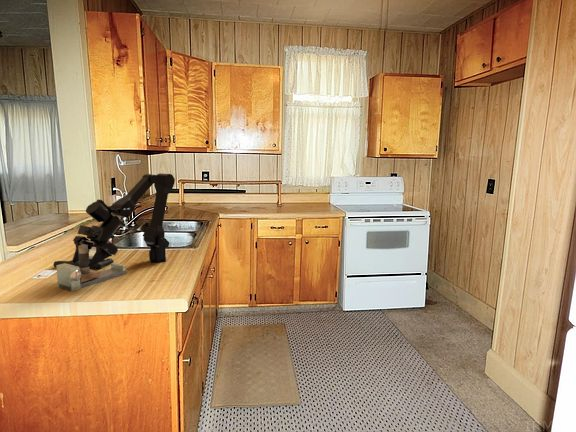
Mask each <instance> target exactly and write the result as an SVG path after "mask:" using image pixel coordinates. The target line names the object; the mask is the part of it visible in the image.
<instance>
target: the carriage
mask: <svg viewBox="0 0 576 432" xmlns="http://www.w3.org/2000/svg"><path fill="white" fill-rule="evenodd" d="M78 249H79V253H78V256H79V267H80V269H79V271H80V272H81V278H80V282H85V281H88V280H91V279H94V278H98V277H100V273H99V272H100V271H99V270H96V269H90V267H89V266H88V264H89V262H90V261H89V256H90V251H89V252H88V245H79V246H78Z"/></svg>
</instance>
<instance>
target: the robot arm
mask: <svg viewBox="0 0 576 432" xmlns="http://www.w3.org/2000/svg"><path fill="white" fill-rule="evenodd" d="M175 181H176V179H175V177H174V175H173V174H171V173H157V174H152V173H145V174H143V175H142V177H141V179H140V180H139V181H138V182H137V183H136V184H135V185H134V186H133V187H132V188H131V189H130V191H129V192H128V193H127V194H125V195H124V196H123V197H120V198H119V199H117V200H115V202H113V203H112V204H111V205H107V204H106V203H105V202H104V201H103V199H97V200H96V201H94V202H92V203H90V204H89V205H87V206H86V208H85V213H86V214H88V215H89V217H91V218H92V219H93V220H95V221H96V222H97V223H101V224H100V225H99V226H98V225H91V226H87V225H82V224H81V225H79V228H78V231H77V235H76V236H74V238H73V240H72V241H73V244H74V245H75V251H74V253H73V254H74V255H73V257H72V259H71V260H72V263H76V262H77V261H79V256H78V253H79V249H78V246H79V245H88V252H89V253H90V250H92V248H95V252H94V254H93V257H92V259H91V261H90V262H89V264H88V266H89V267H92V266H94V265H95V264H97V263H99V262H100V261H102V260H105V259H108V258H110V257H112V256H116V254H117V253H118V251H119V247H117V245H115V244H114V243H113V242H111V241H110V240H111V239H112V240H113V239H114V238H116V236H114V234H115V233H116V231H117V230H118V229H119V228H120V227H121V228H126V222H125V220H124V219H120V218H130V217H131V216H132V214H133V213H134V211H135V209H136V205H137V203H138V202H139V201H140V199H141V198H143V196H144V195H145V194H146V193H147V191H148V190H149V189H150V188H151V187H152V186H154V189H155V191H156V192H155V197H154V198H155V199H154V202H153V203H154V205H153V209H152V214H151V219H150V224H149V225H148V226H145V227H144V230H143V234H142V237H143V241H144V243H145V244H146V247H147V248H149V251H148V260H149V263H163V262H167V253H166V249H167V248H169V247H170V242H169V240H167V239H166V238H165V230H164V226H163V225H164V218H165V214H166V213H165V212H166V207H167V201H168V197H169V193H171V192H172V190H173V189H174V185H175Z"/></svg>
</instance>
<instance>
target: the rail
mask: <svg viewBox="0 0 576 432" xmlns="http://www.w3.org/2000/svg"><path fill="white" fill-rule="evenodd" d="M56 267H57V268H56ZM56 267H55V268H56V275H57V287H58V288H59V289H63V290H66V291H69V292H74V291H77V290H81V289H83V288H86V287H89V286H91V285H95V284H99V283H101V282H105V281H107V280H108V281H109V280H111V279H114V278H117V277H120V276H123V275H127V269H126V265H124V264H121V263H116V262H113V263H111V264H110V267H111V268H107V269H105V270H104V269H103V270H101V271H99V273H100V277H98V278H94V279H91V280H88V281H85V282H80V278H81V272H80V269H79V267H78V266H74V265H70V264H66V263H64V264H60V265H56Z"/></svg>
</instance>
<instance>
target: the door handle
mask: <svg viewBox="0 0 576 432" xmlns="http://www.w3.org/2000/svg"><path fill="white" fill-rule="evenodd" d="M93 256H94V255H93ZM93 256H92V255H91V256H90V255H89V261H91V259H92V257H93ZM72 260H73V259H71V260H55V261H54V262H53V265H52V266H53V267H54V268H56V269H57V267H56V265H60V264H64V263H66V264H70V265H74V266H78V267H79V261H77V262H76V263H72ZM114 261H115V260H114V259H112V258H110V257H108V258H106V259H104V260H102V261H100V262H99V263H97V264H95V265H94V266H92V267H90V269H91V270H101V269H103V268H104V267H106V266H109V265H111V263H115V262H114ZM79 270H80V267H79Z"/></svg>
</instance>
